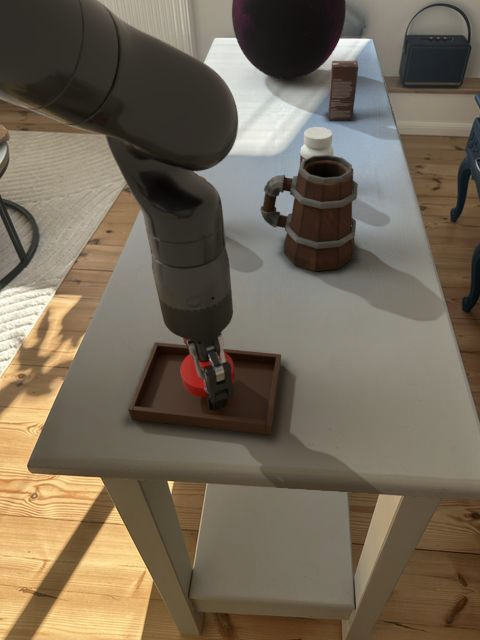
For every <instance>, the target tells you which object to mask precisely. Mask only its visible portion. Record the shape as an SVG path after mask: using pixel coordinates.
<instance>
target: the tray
mask: <svg viewBox="0 0 480 640" xmlns="http://www.w3.org/2000/svg"><path fill="white" fill-rule="evenodd" d="M223 351H224V352H225V353H227V354H228V355H229V356H230V357H231V359H232V361H233V365H234V377H235V379H234V381H233V383H232V392H233V393H232V397H229V398H226V400H227V404H226V406H225V407H223V408H220V409H217V410H210V409H209V406H208V402H207V397H198V396H195V395H193V394H191V393H190V392H189V391H187V390H186V388H185V387H184V385H183V381H182V377H181V371H180V370H181V365H182V362H183V361H184V359H185V358H186V357H187V356H188V355H189V354H190V353H189V351H188V348H187V345H186V344H177V343H168V342H167V343H166V342H158V341H155V342H154V343H153V346H152V348H151V351H150V353H149V356H148V358H147V361H146V363H145V366H144V369H143V370H142V373H141V376H140V378H139V381H138V383H137V385H136V388H135V390H134V393H133V396H132V398H131V400H130V403H129V406H128V409H127V410H128V413H129V416H130V419H131V420H134V421H135V420H136V421H142V422H153V423H162V424H169V425H179V426H187V427H198V428H205V429H206V428H207V429H213V430H223V431H233V432H240V433H241V432H242V433H250V434H259V435H267V436H271V433H272V426H273V420H274V414H275V408H276V407H275V406H276V400H277V394H278V388H279V387H278V386H279V379H280V374H281V373H280V372H281V368H282V367H281V366H282V354H281V353H270V352H260V351H251V350H240V349H239V350H238V349H230V348H223Z"/></svg>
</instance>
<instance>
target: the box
mask: <svg viewBox="0 0 480 640" xmlns="http://www.w3.org/2000/svg"><path fill="white" fill-rule="evenodd" d="M330 67H331V68H330V69H331V70H330V82H329V83H330V84H329V96H328V97H329V98H328V109H327V110H328V111H327V116H328V120H329V121H333V120H334V121H340V120H341V121H353V117H354V107H355V99H356V90H357V81H358V72H359V64H358V60H331V66H330Z"/></svg>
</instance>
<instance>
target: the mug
mask: <svg viewBox="0 0 480 640" xmlns="http://www.w3.org/2000/svg"><path fill="white" fill-rule="evenodd" d="M358 187H359V186H358V183H357V182H356V180H354V168H353V165H352V163H350V162H349V161H347V160H346V159H345V158H344V157H341V156H336V155H333V156H332V155H318V156H312V157H310V158H308V159H306V160H304V161H302V163H301V165H300V164H299V168H298V172H297V175H294V176H293V177H292V178H291V177H286V174H282V175H281V174H280V175H275V176H273V177H271V178H270V179H269V180H268V181H267V182H266V185H264V188H263V191H264V196H263V197H264V198H263V204H262V205H261V206H260V209H259V211H260V213H261V217H262V218H263V220H264V222H266V223H267V224H268V225H269V226H271V227H273V228H274V229H276V228H277V227H278V228H283V229H284V231H285V232H286V234H285V239H284V242H283V254H284V255H285V256H286V257H287V259H288V260H289V261H290V262H291V263H292V264H293V265H294V266H297V267H300V268H303V269H306V270H310V271H314V272H323V271H331V270H333V271H334V270H338V269H340V268H341V267H343V266H344V265H346V264H347V263H349V262H350V261H353V256H354V249H355V236H356V229H357V220H356V219H355V218H354V217H353V201H355V200H356V199H358ZM284 192H289V195H291V196H292V197H293V198H294V199H293V204H292V211H291V213H288V214H287V215H284V214H281V212H280V211H277V207H276V202H277V197H279V195H280V193H284Z"/></svg>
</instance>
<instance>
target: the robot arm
mask: <svg viewBox="0 0 480 640" xmlns="http://www.w3.org/2000/svg"><path fill="white" fill-rule="evenodd" d="M0 100H2V101H4V102H6V103H8V104H11V105H14V106H16V107H19V108H22V109H25V110H27V111H29V112H32V113H35V114H37V115H40V116H42V117H45V118H47V119H49V120H52V121H55V122H57V123H59V124H63V125H65V126H67V127H71V128H74V129H78V130H81V131H85V132H90V133H94V134H99V135H102V136H104V138H105V140H106V143H107V146H108V148H109V150H110V152H111V155H112V158H113V159H114V161H115V164H116V165H117V167H118V169H119V171H120V173H121V175H122V178H123V179H124V181H125V183H126V185H127V187H128V190H129V191H130V193H131V195H132V197H133V199H134V200H135V202H136V203H137V205H138V207H139V209H140V211H141V213H142V216H143V221H144V226H145V231H146V235H147V240H148V245H149V249H150V253H151V269H152V270H151V271H152V275H153V280H154V284H155V288H156V294H157V297H158V302H159V307H160V311H161V316H162V320H163V323H164V325H165V327H166V328H167V329H168V331H170V333H172V334H173V335H176V336H177V337H180V338H182V341H183V343H184V345H187V348H188V351H189V353H190V354H191V355H192V358H193V362H194V366H195V369H196V373H197V374H198V376H199V377H200V378H202V379H203V383H204V387H205V388H204V390H205V392H206V396H207V402H208V406H209V409H210V410H217V409H220V408H223V407H225V406H226V404H227V400H226V398H229V397H232V393H233V392H232V374H231V369H232V368H231V365H230V364H229V362H228V361H227V362H226V359H225V355H224V351H223V349H224V346H225V342H224V338H223V334H222V332H223V331H224V330H225V329H226V328H227V327H228V326H229V324H230V323H231V321H232V319H233V314H234V306H233V293H232V280H231V268H230V266H231V265H230V259H229V255H228V252H227V246H226V235H225V224H224V213H223V204H222V198H221V196H220V193H219V191H218V190H217V188H216V187H215V186H214V185H213V184H212V183H211V182H210V181H208V180H207V179H206V178H205V179H206V180H207V181H206V180H205V179H203V178H202V177H203V176H202V177H200V176H201V175H199V174H198V173H197V172H202V171H206V170H209V169H212V168H214V167H216V166H217V165H219V164H220V163H221V162H223V160H225V159H226V157H228V155H229V154H230V153H231V151H232V149H233V147H234V145H235V143H236V140H237V136H238V131H239V113H238V107H237V104H236V100H235V97H234V95H233V93H232V91H231V89H230V87H229V86H228V84H227V82H226V81H225V79H224V78H222V76H221V75H220V74H219V73H218V72H217V71H215V70H214V69H213V68H212V67H211V66H210V65H208V64H206V63H204V62H203V61H201V60H200V59H198V58H196V57H194V56H192V55H190V54H188V53H187V52H185V51H183V50H181V49H179V48H177V47H175V46H174V45H171V44H170V43H167V42H166V41H164V40H163V39H160V38H158V37H156V36H154V35H151V34H149V33H147V32H145V31H142V30H141V29H138V28H137V27H135V26H133V25H131V24H129V23H128V22H126V21H125V20H123V19H122V18H120V17H119V16H118V15H116V14H115V12H113V11H112V10H111V9H109V8H108V7H107V6H106V5H105V4H103V3H102V2H101V1H100V0H0ZM200 362H202V363H206V362H210V365H208V366H205V367H201V366H200Z"/></svg>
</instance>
